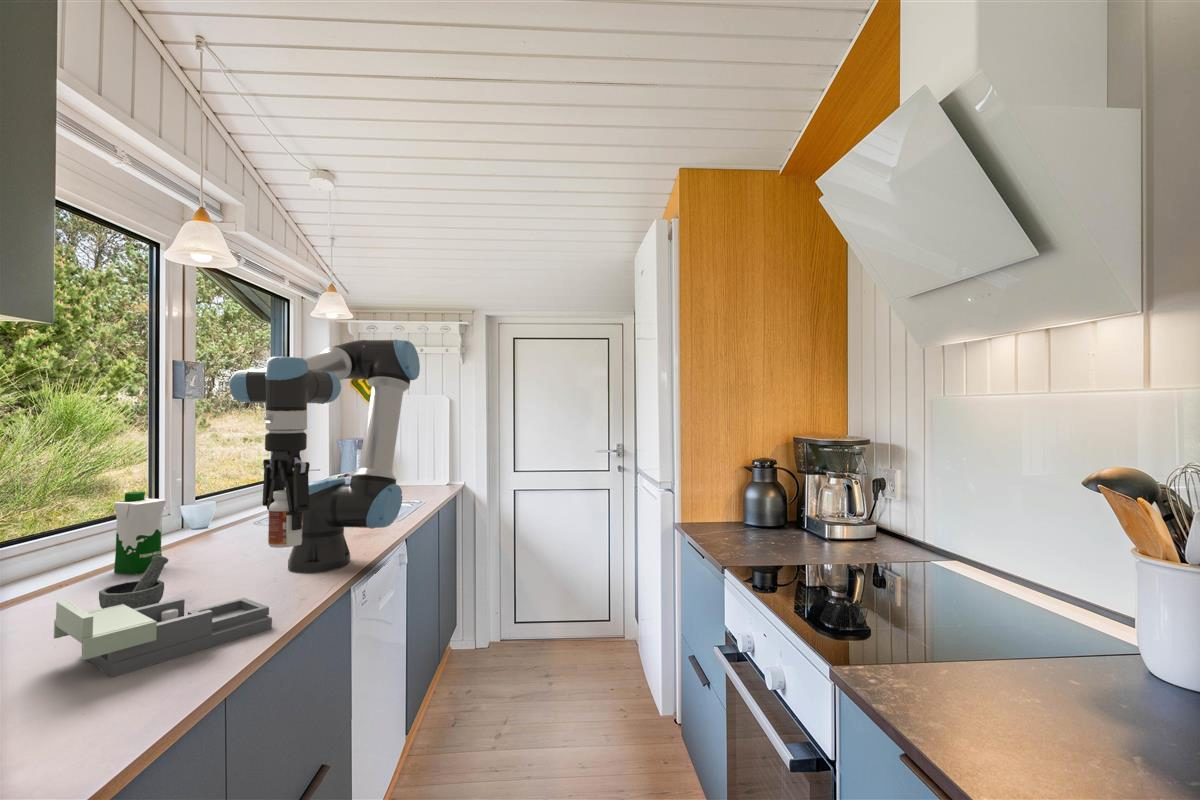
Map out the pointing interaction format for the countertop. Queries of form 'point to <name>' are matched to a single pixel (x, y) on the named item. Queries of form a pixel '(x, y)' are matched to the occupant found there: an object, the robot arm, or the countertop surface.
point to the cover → (103, 628)
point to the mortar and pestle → (137, 588)
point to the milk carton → (137, 532)
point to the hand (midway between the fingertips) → (284, 543)
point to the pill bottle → (278, 520)
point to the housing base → (186, 632)
